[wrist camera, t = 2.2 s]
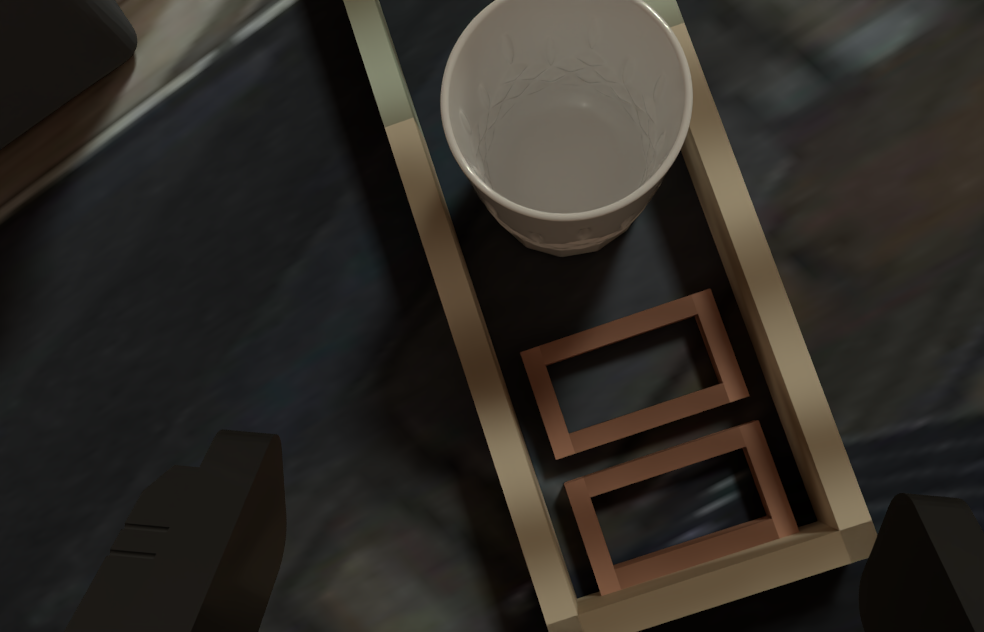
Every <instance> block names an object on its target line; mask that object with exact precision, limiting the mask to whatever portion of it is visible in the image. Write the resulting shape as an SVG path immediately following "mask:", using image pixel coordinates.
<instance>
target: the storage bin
mask: <svg viewBox="0 0 984 632" xmlns="http://www.w3.org/2000/svg"><path fill="white" fill-rule="evenodd" d="M136 47H137V36H136V33H135V30H134V28H133V27H132V25H131V24H130V22H129V21H128V19H127V18H126V16H125V15H124V13H123V12H122V10H121V9H120V7H119V6H118V4H117V3H116V1H115V0H0V149H2V148H3V147H5V146H6V145H7V144H9V143H10V142H12V141H13V140H14V139H16V138H17V137H19V136H20V135H21V134H23V133H24V132H26V131H27V130H28V129H30V128H31V127H33V126H34V125H35V124H37V123H38V122H40V121H41V120H42V119H44V118H45V117H47V116H48V115H50V114H51V113H52V112H54V111H55V110H57V109H58V108H59V107H61V106H62V105H64V104H65V103H66V102H68V101H69V100H71V99H72V98H73V97H75V96H76V95H78V94H79V93H81V92H82V91H83V90H85V89H86V88H88V87H89V86H91V85H92V84H94V83H95V82H96V81H98V80H99V79H101V78H102V77H104V76H105V75H107V74H108V73H110V72H111V71H113V70H114V69H115V68H117V67H118V66H120V65H121V64H123V63H124V62H125V61H127V60H128V59H129V58H130V57H131V56H132V55H133V53H134V51H135V49H136Z"/></svg>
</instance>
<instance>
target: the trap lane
mask: <svg viewBox="0 0 984 632" xmlns="http://www.w3.org/2000/svg"><path fill="white" fill-rule="evenodd" d="M343 1H344V4H345V7H346V10H347V13H348V16H349V20H350V23H351V26H352V29H353V32H354V35H355V38H356V41H357V44H358V47H359V50H360V53H361V56H362V59H363V63H364V66H365V69H366V72H367V75H368V78H369V81H370V84H371V87H372V90H373V93H374V96H375V99H376V102H377V106H378V109H379V112H380V115H381V118H382V121H383V124H384V127H385V130H386V133H387V136H388V139H389V142H390V145H391V149H392V152H393V155H394V158H395V161H396V164H397V167H398V170H399V173H400V176H401V179H402V182H403V185H404V188H405V192H406V195H407V198H408V201H409V204H410V207H411V210H412V213H413V216H414V219H415V222H416V225H417V228H418V231H419V235H420V238H421V241H422V244H423V247H424V250H425V253H426V256H427V259H428V262H429V265H430V268H431V271H432V274H433V278H434V281H435V284H436V287H437V290H438V293H439V296H440V299H441V302H442V305H443V308H444V311H445V314H446V317H447V321H448V324H449V327H450V330H451V333H452V336H453V339H454V342H455V345H456V348H457V351H458V354H459V357H460V360H461V364H462V367H463V370H464V373H465V376H466V379H467V382H468V385H469V388H470V391H471V394H472V397H473V400H474V403H475V407H476V410H477V413H478V416H479V419H480V422H481V425H482V428H483V431H484V434H485V437H486V440H487V443H488V446H489V450H490V453H491V456H492V459H493V462H494V465H495V468H496V471H497V474H498V477H499V480H500V483H501V486H502V489H503V493H504V496H505V499H506V502H507V505H508V508H509V511H510V514H511V517H512V520H513V523H514V526H515V529H516V532H517V536H518V539H519V542H520V545H521V548H522V551H523V554H524V557H525V560H526V563H527V566H528V569H529V572H530V575H531V579H532V582H533V585H534V588H535V591H536V594H537V597H538V600H539V603H540V606H541V609H542V612H543V615H544V618H545V622H546V625H547V628H548V631H549V632H637V631H641V630H644V629H647V628H650V627H653V626H656V625H659V624H662V623H666V622H669V621H672V620H675V619H678V618H681V617H684V616H687V615H691V614H694V613H697V612H700V611H703V610H706V609H709V608H712V607H716V606H719V605H722V604H725V603H728V602H731V601H734V600H737V599H741V598H744V597H747V596H750V595H753V594H756V593H759V592H762V591H766V590H769V589H772V588H775V587H778V586H781V585H784V584H787V583H791V582H794V581H797V580H800V579H803V578H806V577H809V576H812V575H816V574H819V573H822V572H825V571H828V570H831V569H834V568H837V567H841V566H844V565H847V564H850V563H853V562H856V561H859V560H862V559H866V558H869V555H870V553H871V550H872V548H873V545H874V543H875V540H876V538H877V533H876V530H875V528H874V525H873V522H872V520H871V517H870V514H869V512H868V509H867V506H866V504H865V501H864V498H863V496H862V493H861V490H860V488H859V485H858V483H857V480H856V477H855V475H854V472H853V469H852V467H851V464H850V461H849V459H848V456H847V453H846V451H845V448H844V445H843V443H842V440H841V437H840V435H839V432H838V429H837V427H836V424H835V422H834V419H833V416H832V414H831V411H830V408H829V406H828V403H827V400H826V398H825V395H824V392H823V390H822V387H821V384H820V382H819V379H818V376H817V374H816V371H815V368H814V366H813V363H812V360H811V358H810V355H809V353H808V350H807V347H806V345H805V342H804V339H803V337H802V334H801V331H800V329H799V326H798V323H797V321H796V318H795V315H794V313H793V310H792V307H791V305H790V302H789V299H788V297H787V294H786V292H785V289H784V286H783V284H782V281H781V278H780V276H779V273H778V270H777V268H776V265H775V262H774V260H773V257H772V254H771V252H770V249H769V246H768V244H767V241H766V238H765V236H764V233H763V230H762V228H761V225H760V223H759V220H758V217H757V215H756V212H755V209H754V207H753V204H752V201H751V199H750V196H749V193H748V191H747V188H746V185H745V183H744V180H743V177H742V175H741V172H740V169H739V167H738V164H737V162H736V159H735V156H734V154H733V151H732V148H731V146H730V143H729V140H728V138H727V135H726V132H725V130H724V127H723V124H722V122H721V119H720V116H719V114H718V111H717V108H716V106H715V103H714V100H713V98H712V95H711V93H710V90H709V87H708V85H707V82H706V79H705V77H704V74H703V71H702V69H701V66H700V63H699V61H698V58H697V55H696V53H695V50H694V47H693V45H692V42H691V39H690V37H689V34H688V32H687V29H686V26H685V24H684V21H683V18H682V16H681V13H680V10H679V8H678V5H677V2H676V0H643V1H644V2H645V3H647V4H648V5H649V6H650V7H652V8H653V9H654V10H655V11H656V12H657V13H658V14H659V15H660V16H661V17H662V18H663V19H664V20H665V22H666V23H667V24H668V25H669V27H670V28H671V29H672V31H673V32H674V34H675V36H676V37H677V39H678V41H679V43H680V45H681V47H682V49H683V51H684V54H685V56H686V59H687V62H688V65H689V69H690V74H691V79H692V88H693V106H692V115H691V120H690V125H689V129H688V132H687V135H686V138H685V141H684V143H683V146H682V148H681V152H682V155H683V158H684V161H685V163H686V166H687V169H688V171H689V174H690V177H691V179H692V182H693V185H694V188H695V190H696V193H697V196H698V198H699V201H700V204H701V207H702V209H703V212H704V215H705V217H706V220H707V223H708V226H709V228H710V231H711V234H712V236H713V239H714V242H715V244H716V247H717V250H718V253H719V255H720V258H721V261H722V263H723V266H724V269H725V272H726V274H727V277H728V280H729V282H730V285H731V288H732V291H733V293H734V296H735V299H736V301H737V304H738V307H739V309H740V312H741V315H742V318H743V320H744V323H745V326H746V328H747V331H748V334H749V337H750V339H751V342H752V345H753V347H754V350H755V353H756V356H757V358H758V361H759V364H760V366H761V369H762V372H763V375H764V377H765V380H766V383H767V385H768V388H769V391H770V393H771V396H772V399H773V402H774V404H775V407H776V410H777V412H778V415H779V418H780V421H781V423H782V426H783V429H784V431H785V434H786V437H787V440H788V442H789V445H790V448H791V450H792V453H793V456H794V458H795V461H796V464H797V467H798V469H799V472H800V475H801V477H802V480H803V483H804V486H805V488H806V491H807V494H808V496H809V499H810V502H811V505H812V507H813V510H814V513H815V515H816V518H817V521H816V522H813V523H810V524H807V525H804V526H801V527H797V524H796V521H795V518H794V516H793V513H792V510H791V507H790V505H789V502H788V499H787V496H786V494H785V491H784V488H783V486H782V483H781V480H780V477H779V475H778V472H777V469H776V466H775V464H774V461H773V458H772V455H771V453H770V450H769V447H768V445H767V442H766V439H765V436H764V434H763V431H762V428H761V425H760V423H759V420H753V421H750V422H746V423H743V424H740V425H737V426H734V427H731V428H728V429H725V430H722V431H719V432H716V433H713V434H710V435H707V436H704V437H701V438H698V439H695V440H692V441H689V442H686V443H683V444H680V445H677V446H674V447H670V448H667V449H664V450H661V451H658V452H655V453H652V454H649V455H646V456H643V457H640V458H637V459H634V460H631V461H628V462H625V463H622V464H619V465H616V466H613V467H610V468H607V469H604V470H601V471H598V472H594V473H591V474H588V475H585V476H582V477H579V478H576V479H573V480H570V481H567V482H564V485H565V488H566V491H567V494H568V497H569V500H570V503H571V506H572V509H573V512H574V515H575V518H576V521H577V524H578V527H579V530H580V533H581V536H582V539H583V542H584V545H585V548H586V551H587V554H588V557H589V560H590V563H591V566H592V569H593V572H594V575H595V578H596V581H597V584H598V587H599V590H600V592H596V593H593V594H590V595H587V596H584V597H581V598H578V599H577V598H576V595H575V591H574V588H573V585H572V582H571V579H570V576H569V573H568V570H567V567H566V564H565V561H564V558H563V555H562V552H561V549H560V546H559V543H558V540H557V537H556V534H555V531H554V528H553V525H552V522H551V519H550V516H549V513H548V510H547V507H546V504H545V501H544V498H543V495H542V492H541V489H540V486H539V483H538V480H537V477H536V474H535V471H534V468H533V465H532V462H531V459H530V456H529V453H528V450H527V447H526V443H525V440H524V437H523V434H522V431H521V428H520V425H519V422H518V419H517V416H516V413H515V410H514V407H513V404H512V401H511V398H510V395H509V392H508V389H507V386H506V383H505V380H504V377H503V374H502V371H501V368H500V365H499V362H498V359H497V356H496V353H495V350H494V347H493V344H492V341H491V338H490V335H489V332H488V329H487V326H486V323H485V320H484V317H483V314H482V311H481V308H480V305H479V302H478V299H477V295H476V292H475V289H474V286H473V283H472V280H471V277H470V274H469V271H468V268H467V265H466V262H465V259H464V256H463V253H462V250H461V247H460V244H459V241H458V238H457V235H456V232H455V229H454V226H453V223H452V220H451V217H450V214H449V211H448V208H447V205H446V202H445V199H444V196H443V193H442V190H441V187H440V184H439V181H438V178H437V175H436V172H435V169H434V166H433V163H432V160H431V157H430V154H429V151H428V147H427V144H426V141H425V138H424V135H423V132H422V129H421V126H420V123H419V120H418V117H417V114H416V111H415V108H414V105H413V102H412V99H411V96H410V93H409V90H408V87H407V84H406V81H405V78H404V75H403V72H402V69H401V66H400V63H399V60H398V57H397V54H396V51H395V48H394V45H393V42H392V39H391V36H390V33H389V30H388V27H387V24H386V21H385V18H384V15H383V12H382V9H381V6H380V3H379V0H343ZM694 316H695V319H696V322H697V324H698V327H699V330H700V333H701V335H702V338H703V341H704V344H705V346H706V349H707V352H708V355H709V358H710V360H711V363H712V366H713V369H714V371H715V374H716V377H717V380H718V382H719V384H717V385H714V386H711V387H708V388H705V389H702V390H699V391H696V392H693V393H690V394H687V395H684V396H681V397H678V398H675V399H672V400H669V401H666V402H663V403H660V404H657V405H654V406H651V407H648V408H645V409H642V410H639V411H636V412H633V413H630V414H627V415H624V416H621V417H618V418H615V419H612V420H609V421H606V422H602V423H599V424H596V425H593V426H590V427H587V428H584V429H581V430H578V431H575V432H572V433H568V430H567V427H566V424H565V421H564V418H563V415H562V412H561V409H560V406H559V403H558V400H557V398H556V395H555V392H554V389H553V386H552V383H551V380H550V377H549V374H548V371H547V368H546V366H548V365H551V364H554V363H557V362H560V361H563V360H566V359H569V358H572V357H575V356H578V355H581V354H584V353H587V352H590V351H593V350H596V349H599V348H602V347H605V346H608V345H611V344H614V343H617V342H620V341H623V340H626V339H629V338H632V337H635V336H638V335H641V334H644V333H647V332H649V331H652V330H655V329H658V328H661V327H664V326H667V325H670V324H673V323H676V322H679V321H682V320H685V319H688V318H691V317H694ZM520 354H521V357H522V360H523V363H524V366H525V369H526V372H527V375H528V378H529V381H530V384H531V387H532V390H533V393H534V396H535V399H536V401H537V404H538V407H539V410H540V413H541V416H542V419H543V422H544V425H545V428H546V431H547V434H548V437H549V440H550V443H551V446H552V449H553V452H554V455H555V458H556V460H557V459H560V458H563V457H566V456H569V455H572V454H575V453H578V452H582V451H585V450H588V449H591V448H594V447H597V446H600V445H603V444H606V443H609V442H612V441H615V440H618V439H621V438H624V437H627V436H630V435H633V434H636V433H639V432H642V431H645V430H648V429H651V428H654V427H657V426H660V425H663V424H666V423H669V422H672V421H675V420H678V419H681V418H684V417H687V416H691V415H694V414H697V413H700V412H703V411H706V410H709V409H712V408H715V407H718V406H721V405H724V404H727V403H730V402H733V401H736V400H739V399H742V398H745V397H748V396H750V395H749V393H748V390H747V387H746V384H745V382H744V379H743V376H742V373H741V371H740V368H739V365H738V363H737V360H736V357H735V354H734V352H733V349H732V346H731V343H730V341H729V338H728V335H727V333H726V330H725V327H724V324H723V322H722V319H721V316H720V313H719V311H718V308H717V305H716V302H715V300H714V297H713V294H712V292H711V289H707V290H704V291H701V292H698V293H695V294H692V295H689V296H686V297H683V298H680V299H677V300H674V301H671V302H668V303H665V304H662V305H659V306H656V307H654V308H651V309H648V310H645V311H642V312H639V313H636V314H633V315H630V316H627V317H624V318H621V319H618V320H615V321H612V322H609V323H606V324H603V325H600V326H597V327H594V328H591V329H588V330H585V331H582V332H579V333H576V334H573V335H570V336H567V337H564V338H561V339H558V340H555V341H552V342H549V343H546V344H544V345H541V346H538V347H535V348H532V349H529V350H526V351H523V352H520ZM740 448H742V449H743V451H744V454H745V457H746V460H747V462H748V465H749V468H750V471H751V474H752V476H753V479H754V482H755V485H756V487H757V490H758V493H759V496H760V498H761V501H762V504H763V507H764V509H765V512H766V515H767V516H764V517H761V518H758V519H755V520H752V521H749V522H746V523H743V524H739V525H736V526H733V527H730V528H727V529H724V530H721V531H718V532H715V533H712V534H709V535H705V536H702V537H699V538H696V539H693V540H690V541H687V542H684V543H681V544H678V545H675V546H671V547H668V548H665V549H662V550H659V551H656V552H653V553H650V554H647V555H644V556H641V557H638V558H634V559H631V560H628V561H625V562H622V563H619V564H616V565H613V563H612V560H611V557H610V554H609V551H608V549H607V546H606V543H605V540H604V537H603V534H602V531H601V528H600V525H599V522H598V519H597V516H596V513H595V510H594V507H593V504H592V501H591V498H590V497H593V496H596V495H599V494H602V493H605V492H609V491H612V490H615V489H618V488H621V487H624V486H627V485H630V484H633V483H636V482H639V481H642V480H645V479H648V478H651V477H654V476H657V475H660V474H663V473H666V472H670V471H673V470H676V469H679V468H682V467H685V466H688V465H691V464H694V463H697V462H700V461H703V460H706V459H709V458H712V457H715V456H718V455H721V454H724V453H728V452H731V451H734V450H737V449H740Z"/></svg>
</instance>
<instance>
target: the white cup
mask: <svg viewBox="0 0 984 632" xmlns="http://www.w3.org/2000/svg"><path fill="white" fill-rule="evenodd" d="M440 104H441V118H442V124H443V128H444V132H445V136H446V139H447V142H448V145H449V147H450V149H451V152H452V154H453V156H454V158H455V159H456V161H457V163H458V165H459V166H460V168H461V169H462V171H463V172H464V174H465V175H466V177H467V179H468V180H469V182H470V183H471V185H472V187H473V188H474V190H475V192H476V193H477V195H478V196H479V198H480V199H481V201H482V202H483V203H484V205H485V206H486V207H487V209H488V210H489V212H490V213H491V214H492V215H493V216H494V218H495V219H496V220H497V221H498V222H499V224H500V225H501V226H502V227H504V228H505V229H506V230H507V231H508V232H509V233H510V234H512V235H513V236H514V237H515V238H516V239H517V240H518V241H520V242H521V243H522V244H523V245H524V246H525V247H526V248H530V249H533V250H537V251H541V252H544V253H548V254H551V255H555V256H558V257H566V256H572V255H578V254H584V253H589V252H595V251H598V250H600V249H601V248H603V247H604V246H606V245H607V244H608V243H610V242H611V241H613V240H614V239H615V238H617V237H618V236H620V235H621V234H623V233H624V232H625V231H627V230H628V229H629V227H630V225H631V223H632V222H633V221H634V220H635V219H636V218H637V217H638V216H639V215H640V213H641V212H642V211H643V209H644V208H645V207H646V205H647V204H648V202H649V201H650V200H651V198H652V197H653V196H654V194H655V193H656V191H657V190H658V188H659V186H660V184H661V182H662V180H663V179H664V177H665V175H666V174H667V172H668V171H669V169H670V167H671V166H672V164H673V162H674V161H675V159H676V157H677V156H678V154H679V152H680V150H681V148H682V146H683V143H684V141H685V138H686V135H687V132H688V129H689V125H690V120H691V115H692V106H693V88H692V79H691V74H690V69H689V65H688V62H687V59H686V56H685V54H684V51H683V49H682V47H681V45H680V43H679V41H678V39H677V37H676V36H675V34H674V32H673V31H672V29H671V28H670V27H669V25H668V24H667V23H666V22H665V20H664V19H663V18H662V17H661V16H660V15H659V14H658V13H657V12H656V11H655V10H654V9H653V8H652V7H650V6H649V5H648V4H647V3H645V2H644V1H643V0H495V1H493V2H492V3H491V4H489V5H488V6H487V7H486V8H484V9H483V10H482V11H481V12H480V13H479V14H478V15H477V16H476V17H475V18H474V19H473V20H472V21H471V22H470V23H469V25H468V26H467V27H466V29H465V30H464V31H463V33H462V34H461V36H460V37H459V39H458V40H457V42H456V44H455V46H454V48H453V50H452V52H451V54H450V56H449V59H448V62H447V65H446V68H445V71H444V75H443V80H442V87H441V100H440Z"/></svg>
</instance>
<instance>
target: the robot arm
mask: <svg viewBox="0 0 984 632" xmlns="http://www.w3.org/2000/svg"><path fill="white" fill-rule="evenodd" d="M285 538H286V505H285V491H284V476H283V462H282V448H281V441H280V438H279V436H278V435H277V434H266V433H255V432H244V431H233V430H220V431H219V432H218V433H217V434H216V436H215V438H214V439H213V441H212V443H211V445H210V447H209V449H208V451H207V453H206V455H205V457H204V459H203V461H202V463H201V465H200V467H189V466H178V465H174V466H173V467H172V468H170V469H169V470H168V471H167V472H165V473H164V474H163V475H162V476H161V477H159V478H158V479H157V480H156V481H155V482H153V483H152V484H151V485H150V486H149V487H147V488H146V489H145V490H144V491H143V492H142V494H141V495H140V497H139V499H138V501H137V503H136V504H135V506H134V508H133V510H132V512H131V513H130V515H129V517H128V519H127V520H126V522H125V528H124V530H123V529H121V531H120V533H119V535H118V537H117V538H116V540H115V542H114V544H113V545H112V547H111V549H110V555H109V556H106V558H105V560H104V561H103V563H102V565H101V567H100V569H99V570H98V572H97V574H96V576H95V578H94V579H93V581H92V583H91V585H90V586H89V588H88V590H87V592H86V594H85V595H84V597H83V599H82V601H81V603H80V604H79V606H78V608H77V610H76V611H75V613H74V615H73V617H72V619H71V620H70V622H69V624H68V626H67V627H66V629H65V631H64V632H258V630H259V627H260V624H261V621H262V619H263V616H264V613H265V610H266V607H267V604H268V601H269V598H270V595H271V592H272V589H273V586H274V583H275V580H276V577H277V574H278V571H279V568H280V565H281V561H282V557H283V552H284V546H285ZM859 610H860V616H861V621H862V624H863V628H864V630H865V632H984V533H983V531H982V529H981V527H980V525H979V524H978V522H977V520H976V518H975V516H974V515H973V513H972V511H971V509H970V508H969V506H968V505H967V504H966V502H965V501H963V500H962V499H959V498H950V497H939V496H928V495H917V494H906V493H899V494H897V495H896V496H895V497H894V498H893V499H892V501H891V503H890V505H889V507H888V510H887V512H886V515H885V517H884V520H883V523H882V525H881V528H880V530H879V533H878V535H877V538H876V540H875V543H874V545H873V548H872V550H871V553H870V555H869V558H868V560H867V563H866V566H865V568H864V571H863V573H862V576H861V581H860V587H859Z"/></svg>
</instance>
